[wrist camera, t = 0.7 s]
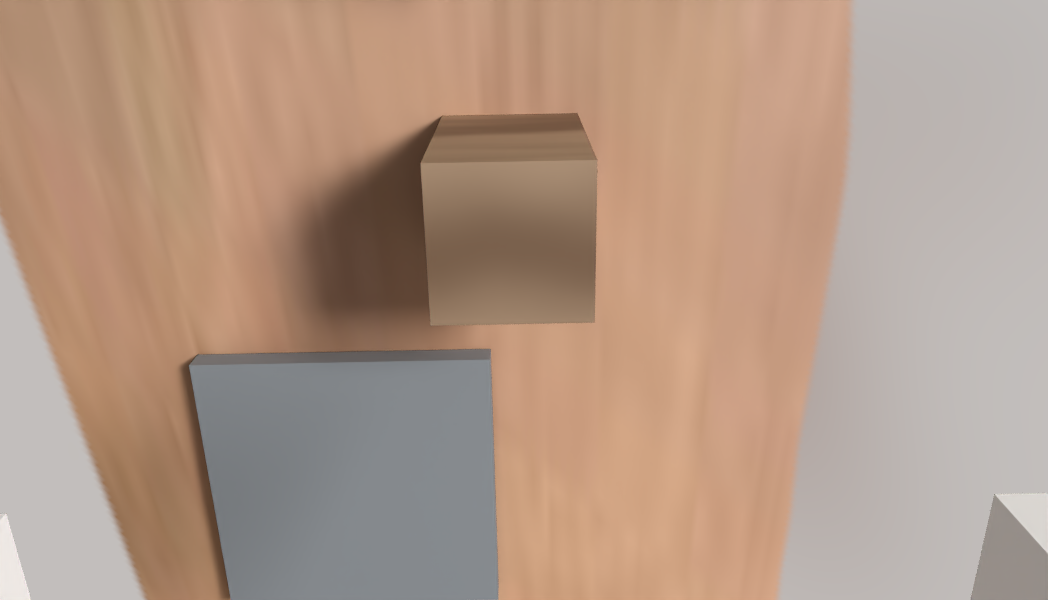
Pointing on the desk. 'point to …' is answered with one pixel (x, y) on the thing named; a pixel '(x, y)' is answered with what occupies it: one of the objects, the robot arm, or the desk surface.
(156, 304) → the desk surface
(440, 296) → the block
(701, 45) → the desk surface
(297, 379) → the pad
